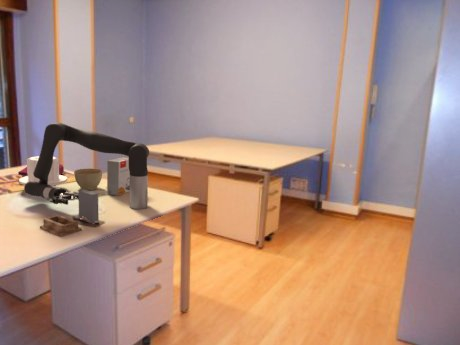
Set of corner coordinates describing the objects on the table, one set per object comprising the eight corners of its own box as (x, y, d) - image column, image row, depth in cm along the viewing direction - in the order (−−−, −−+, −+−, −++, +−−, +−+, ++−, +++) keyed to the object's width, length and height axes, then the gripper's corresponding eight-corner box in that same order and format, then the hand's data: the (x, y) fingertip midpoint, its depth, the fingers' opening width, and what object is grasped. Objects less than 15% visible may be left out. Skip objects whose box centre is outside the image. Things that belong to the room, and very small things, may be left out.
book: (63, 174, 269) (63, 163, 267) (54, 183, 242) (54, 172, 241) (30, 173, 264) (30, 163, 263) (18, 183, 238) (17, 171, 236)
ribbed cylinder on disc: (59, 183, 243) (58, 153, 239) (73, 192, 224) (72, 160, 221) (14, 188, 226) (12, 156, 222) (26, 198, 208) (24, 163, 204)
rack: (39, 228, 167) (39, 219, 166) (60, 222, 175) (60, 214, 174) (61, 236, 159) (60, 227, 158) (82, 230, 167) (81, 221, 166)
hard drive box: (118, 196, 221) (117, 162, 217) (106, 194, 224) (106, 160, 220) (133, 190, 236) (133, 158, 232) (122, 188, 238) (122, 156, 234)
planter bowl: (85, 184, 244) (85, 167, 242) (108, 187, 240) (107, 170, 238) (68, 189, 229) (67, 171, 227) (92, 193, 225) (91, 175, 222)
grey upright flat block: (79, 219, 180) (78, 190, 177) (84, 218, 183) (83, 189, 180) (93, 224, 175) (92, 194, 172) (98, 222, 177) (98, 193, 175)
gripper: (41, 189, 184) (61, 195, 175) (67, 184, 196) (88, 190, 187) (41, 204, 185) (62, 211, 177) (68, 198, 197) (88, 205, 189)
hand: (75, 200), depth 182 cm, fingers open, 8 cm apart
